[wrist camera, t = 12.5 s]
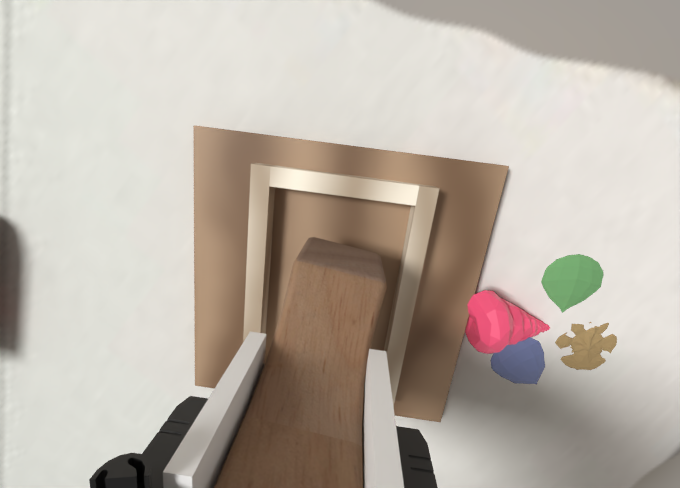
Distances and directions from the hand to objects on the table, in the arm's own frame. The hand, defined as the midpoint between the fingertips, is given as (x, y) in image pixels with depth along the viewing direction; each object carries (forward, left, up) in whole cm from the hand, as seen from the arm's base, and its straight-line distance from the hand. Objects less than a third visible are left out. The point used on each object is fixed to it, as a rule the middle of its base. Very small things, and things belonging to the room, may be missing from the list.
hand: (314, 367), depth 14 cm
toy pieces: (+16, -1, -10) cm, 19 cm away
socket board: (0, 0, -10) cm, 10 cm away
